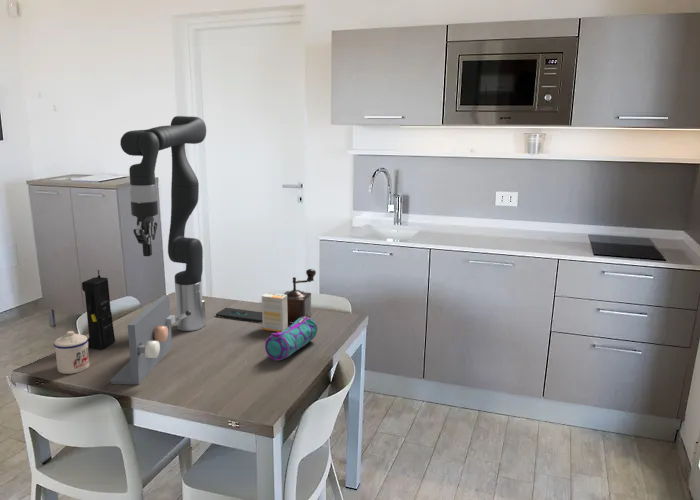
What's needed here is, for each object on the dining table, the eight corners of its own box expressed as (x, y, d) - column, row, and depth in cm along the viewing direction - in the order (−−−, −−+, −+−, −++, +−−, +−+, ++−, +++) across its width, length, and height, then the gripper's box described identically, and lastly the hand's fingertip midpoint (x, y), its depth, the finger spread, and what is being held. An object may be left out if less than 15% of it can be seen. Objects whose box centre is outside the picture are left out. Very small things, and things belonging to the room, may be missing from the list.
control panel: (176, 346, 180) (173, 295, 176) (144, 384, 154) (140, 325, 150) (148, 346, 181) (144, 294, 177) (111, 383, 154) (106, 324, 150)
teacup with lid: (78, 375, 159) (74, 338, 156) (50, 373, 160) (45, 336, 157) (102, 358, 170) (98, 323, 168) (75, 356, 171) (71, 322, 169)
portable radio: (101, 351, 176) (95, 277, 170) (85, 349, 177) (78, 275, 171) (116, 341, 183) (110, 270, 178) (100, 340, 185) (94, 269, 179)
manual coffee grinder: (305, 324, 202) (305, 278, 198) (277, 321, 205) (276, 276, 201) (317, 311, 217) (317, 268, 213) (291, 308, 220) (291, 266, 216)
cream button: (160, 353, 157) (159, 338, 156) (153, 360, 152) (152, 344, 151) (136, 353, 157) (135, 337, 156) (129, 360, 152) (128, 344, 151)
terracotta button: (168, 338, 168) (167, 323, 167) (162, 344, 163) (161, 329, 162) (146, 337, 168) (145, 323, 167) (139, 343, 163) (138, 328, 162)
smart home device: (226, 306, 217) (271, 313, 211) (226, 311, 217) (271, 317, 211) (215, 313, 209) (261, 320, 203) (215, 317, 209) (261, 324, 203)
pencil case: (295, 337, 191) (295, 311, 188) (317, 341, 187) (318, 315, 185) (263, 360, 172) (263, 331, 170) (287, 365, 169) (287, 336, 166)
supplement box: (288, 328, 198) (288, 294, 196) (282, 333, 194) (282, 298, 191) (268, 325, 201) (267, 291, 198) (262, 329, 197) (261, 295, 194)
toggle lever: (192, 313, 176) (189, 308, 176) (191, 315, 175) (188, 310, 174) (177, 321, 177) (174, 316, 177) (175, 323, 175) (172, 318, 175)
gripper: (140, 196, 168) (144, 250, 172) (121, 202, 156) (126, 260, 159) (164, 197, 168) (167, 251, 172) (147, 203, 155) (151, 261, 159)
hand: (147, 255), depth 166 cm, fingers closed
